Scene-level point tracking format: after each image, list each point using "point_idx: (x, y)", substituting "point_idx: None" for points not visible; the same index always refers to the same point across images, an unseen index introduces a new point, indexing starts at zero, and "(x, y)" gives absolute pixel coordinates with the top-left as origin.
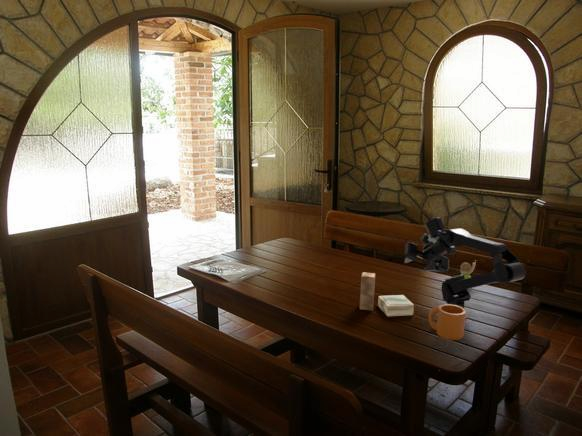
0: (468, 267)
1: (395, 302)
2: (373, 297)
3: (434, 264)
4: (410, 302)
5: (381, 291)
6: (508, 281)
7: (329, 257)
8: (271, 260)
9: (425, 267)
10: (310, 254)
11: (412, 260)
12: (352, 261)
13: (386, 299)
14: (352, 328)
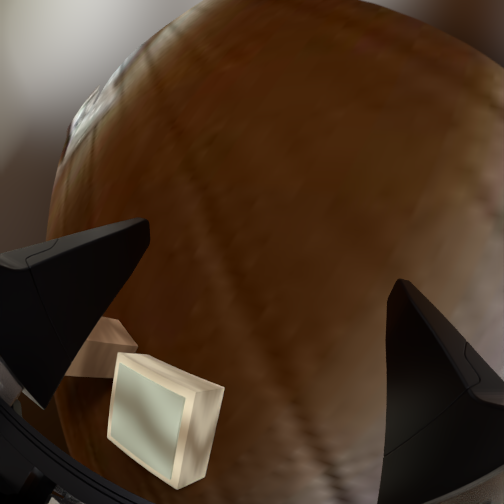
0: None
1: (130, 436)
2: (84, 376)
3: (429, 471)
4: (177, 468)
5: (232, 225)
6: None
7: (253, 11)
8: (150, 58)
9: (403, 297)
10: (227, 12)
11: (47, 399)
12: (293, 14)
13: (119, 397)
14: (69, 422)
